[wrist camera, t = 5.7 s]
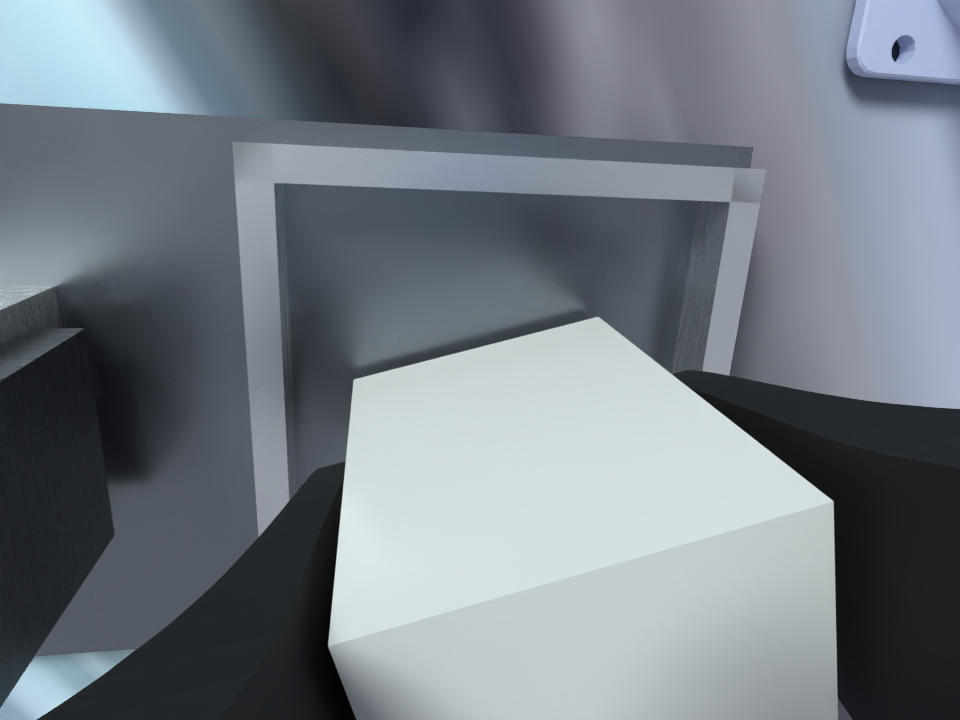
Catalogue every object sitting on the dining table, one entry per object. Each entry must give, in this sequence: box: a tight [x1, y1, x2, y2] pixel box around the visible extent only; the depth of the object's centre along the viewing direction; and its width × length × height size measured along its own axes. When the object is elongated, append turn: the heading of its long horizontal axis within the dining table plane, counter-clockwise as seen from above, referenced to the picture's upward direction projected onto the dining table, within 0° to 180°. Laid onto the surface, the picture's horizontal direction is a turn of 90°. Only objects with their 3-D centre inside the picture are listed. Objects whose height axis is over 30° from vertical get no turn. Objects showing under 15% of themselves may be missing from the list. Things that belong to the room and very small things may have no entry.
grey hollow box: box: [0, 104, 766, 708], centre depth 10 cm, size 20×11×8 cm, turn 87°
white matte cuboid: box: [328, 317, 838, 720], centre depth 10 cm, size 4×5×7 cm
